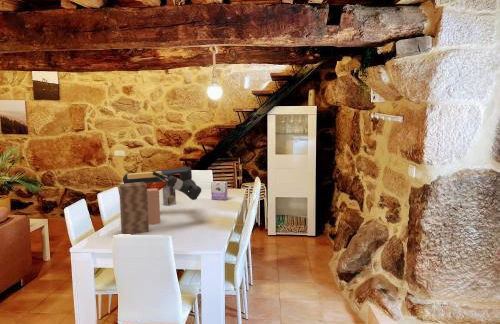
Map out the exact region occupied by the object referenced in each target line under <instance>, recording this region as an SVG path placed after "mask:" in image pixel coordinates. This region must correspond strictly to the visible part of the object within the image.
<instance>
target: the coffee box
mask: <svg viewBox="0 0 500 324" xmlns="http://www.w3.org/2000/svg"><path fill="white" fill-rule="evenodd" d="M176 204H177V200H176V189H173V188H171V187H169V186H167V185H165V186H162V205H163V206H167V207H170V206H173V205H176Z"/></svg>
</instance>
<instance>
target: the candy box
mask: <svg viewBox="0 0 500 324" xmlns="http://www.w3.org/2000/svg"><path fill="white" fill-rule="evenodd" d="M210 184H211V186H210V187H211V188H210V189H211V190H210V191H211V192H210V193H211V200H212V201H227V200H228V197H229V196H228V193H229V192H228V181H223V180H222V181H220V180H218V181H217V180H215V181H214V180H212V181H211V182H210Z"/></svg>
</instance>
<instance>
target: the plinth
mask: <svg viewBox="0 0 500 324" xmlns="http://www.w3.org/2000/svg"><path fill="white" fill-rule="evenodd" d="M118 188H119V192H118V193H119V207H120V209H119V210H120V227H121V233H122V234H130V235H135V234H136V233H137V234H142V233H149V232H150V231H149V230H150V225H149V223H148V199H147V189H148V183H144V182H137V183H126V184H124V183H119V184H118Z"/></svg>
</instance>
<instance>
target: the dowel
mask: <svg viewBox="0 0 500 324" xmlns="http://www.w3.org/2000/svg"><path fill="white" fill-rule="evenodd" d="M152 173H153V172H150V171H146V172H135V173H134V172H132V174H127V179H137V178H149V177H158V176H155V175H153V174H152ZM156 173H158V174H161V175H162V172H161V171H158V172H156Z"/></svg>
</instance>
